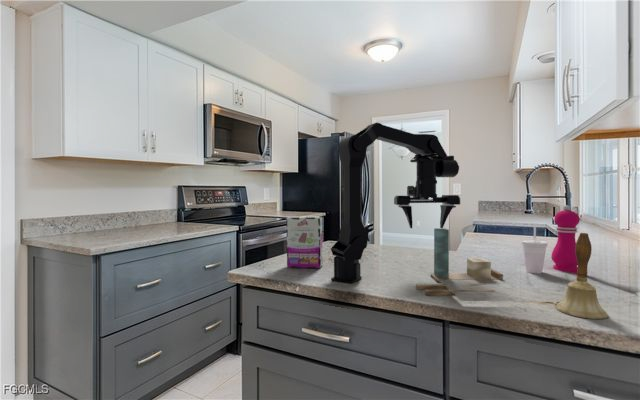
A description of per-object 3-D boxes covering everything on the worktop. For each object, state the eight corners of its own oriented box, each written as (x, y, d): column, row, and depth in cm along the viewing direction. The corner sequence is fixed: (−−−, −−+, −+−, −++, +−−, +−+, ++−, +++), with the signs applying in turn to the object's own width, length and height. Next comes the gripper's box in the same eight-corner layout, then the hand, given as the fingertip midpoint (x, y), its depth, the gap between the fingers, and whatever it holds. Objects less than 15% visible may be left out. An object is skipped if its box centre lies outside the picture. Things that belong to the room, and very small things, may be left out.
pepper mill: (571, 269, 102) (572, 204, 102) (587, 276, 95) (588, 205, 94) (545, 269, 103) (546, 204, 102) (560, 275, 96) (561, 205, 95)
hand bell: (585, 304, 72) (586, 230, 71) (619, 319, 64) (621, 235, 63) (546, 304, 72) (547, 230, 71) (575, 319, 64) (577, 236, 63)
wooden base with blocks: (437, 283, 89) (437, 230, 88) (430, 276, 95) (430, 227, 95) (502, 283, 88) (503, 230, 88) (491, 277, 95) (491, 227, 94)
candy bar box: (323, 265, 111) (322, 216, 110) (320, 269, 106) (320, 217, 105) (290, 264, 113) (289, 215, 112) (286, 267, 108) (285, 217, 107)
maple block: (473, 278, 89) (473, 261, 89) (466, 274, 94) (467, 258, 94) (490, 278, 89) (490, 261, 89) (483, 274, 94) (483, 258, 94)
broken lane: (421, 295, 79) (421, 291, 79) (414, 286, 86) (414, 282, 86) (498, 295, 78) (498, 291, 78) (484, 287, 85) (484, 283, 85)
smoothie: (523, 276, 95) (523, 227, 94) (519, 271, 101) (519, 225, 100) (549, 278, 92) (550, 228, 92) (544, 273, 98) (544, 225, 98)
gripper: (448, 177, 110) (448, 225, 110) (391, 178, 111) (391, 225, 111) (461, 176, 99) (460, 229, 99) (397, 177, 100) (397, 229, 100)
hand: (426, 228), depth 103 cm, fingers open, 9 cm apart
